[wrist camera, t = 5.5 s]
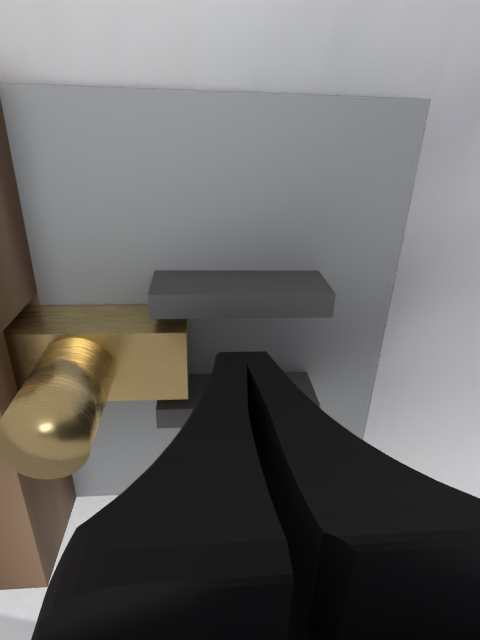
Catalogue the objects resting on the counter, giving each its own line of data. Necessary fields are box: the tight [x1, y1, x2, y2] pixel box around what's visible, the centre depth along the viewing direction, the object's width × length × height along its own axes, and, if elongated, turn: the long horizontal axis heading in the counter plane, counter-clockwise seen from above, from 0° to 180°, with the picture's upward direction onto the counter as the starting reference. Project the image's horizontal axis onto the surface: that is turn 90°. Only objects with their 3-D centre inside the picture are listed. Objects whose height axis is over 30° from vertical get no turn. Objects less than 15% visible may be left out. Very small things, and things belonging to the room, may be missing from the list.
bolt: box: [0, 305, 190, 479], centre depth 11 cm, size 7×2×5 cm, turn 88°
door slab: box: [0, 83, 431, 497], centre depth 14 cm, size 11×14×3 cm
